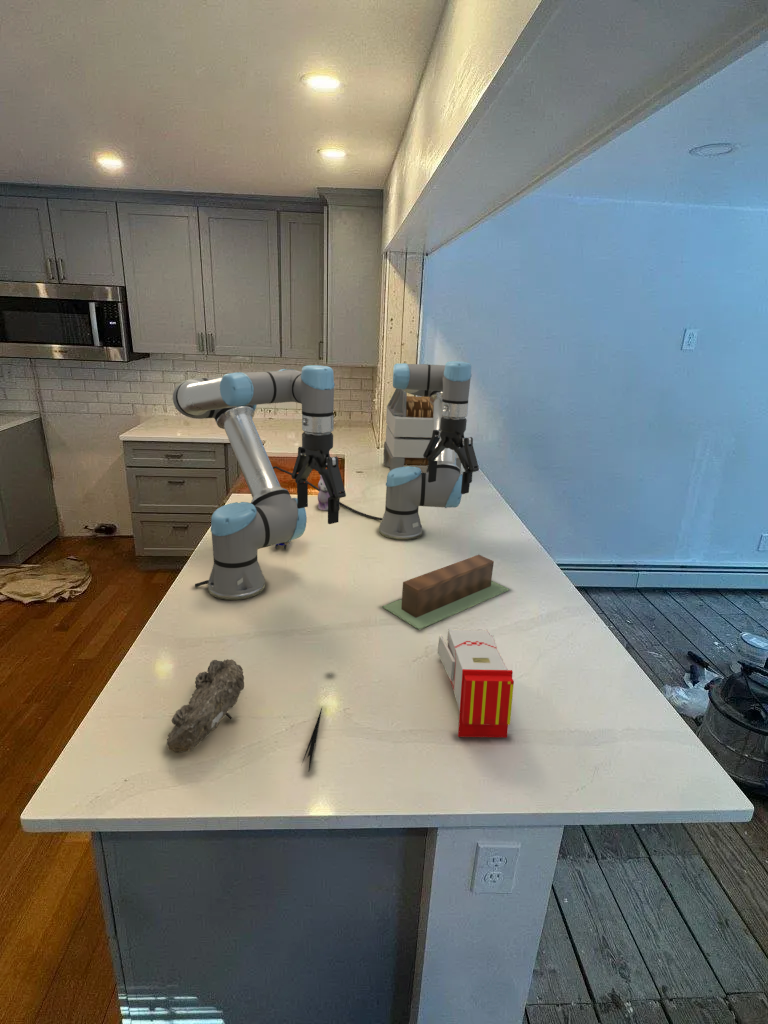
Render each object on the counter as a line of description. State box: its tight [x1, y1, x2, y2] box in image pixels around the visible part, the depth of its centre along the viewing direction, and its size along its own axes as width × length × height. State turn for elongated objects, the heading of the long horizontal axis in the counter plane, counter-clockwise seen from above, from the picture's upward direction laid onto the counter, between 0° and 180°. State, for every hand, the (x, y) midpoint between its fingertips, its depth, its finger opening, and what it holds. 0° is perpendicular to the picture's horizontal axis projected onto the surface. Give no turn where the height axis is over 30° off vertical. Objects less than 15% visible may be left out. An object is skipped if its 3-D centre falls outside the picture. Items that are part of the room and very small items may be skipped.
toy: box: [437, 628, 515, 738], centre depth 117 cm, size 12×13×30 cm
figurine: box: [317, 474, 334, 511], centre depth 220 cm, size 9×10×15 cm
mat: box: [382, 580, 510, 631], centre depth 157 cm, size 14×36×1 cm, turn 131°
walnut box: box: [401, 554, 495, 618], centre depth 155 cm, size 30×6×8 cm, turn 131°
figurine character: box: [274, 541, 291, 550], centre depth 186 cm, size 7×8×15 cm
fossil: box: [166, 658, 245, 754], centre depth 106 cm, size 22×10×15 cm
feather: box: [301, 673, 332, 771], centre depth 108 cm, size 2×28×2 cm
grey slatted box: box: [383, 388, 462, 474], centre depth 268 cm, size 34×33×41 cm
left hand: (317, 514), depth 144 cm, fingers open, 13 cm apart
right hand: (447, 487), depth 171 cm, fingers open, 13 cm apart
